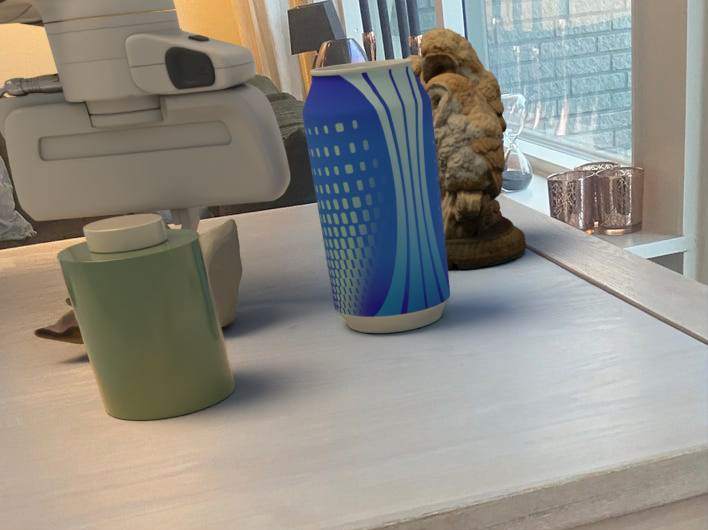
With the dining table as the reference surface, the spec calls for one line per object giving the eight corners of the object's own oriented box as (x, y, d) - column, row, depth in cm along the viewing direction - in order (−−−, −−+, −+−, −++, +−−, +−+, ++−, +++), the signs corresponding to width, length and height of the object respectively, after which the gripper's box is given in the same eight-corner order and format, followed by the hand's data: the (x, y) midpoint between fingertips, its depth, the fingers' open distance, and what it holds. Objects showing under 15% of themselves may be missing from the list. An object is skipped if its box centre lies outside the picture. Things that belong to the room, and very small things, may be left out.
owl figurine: (355, 246, 92) (324, 37, 82) (463, 224, 96) (445, 23, 86) (436, 279, 78) (410, 34, 69) (558, 252, 82) (549, 18, 73)
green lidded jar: (83, 423, 57) (22, 242, 51) (134, 377, 63) (86, 213, 58) (211, 416, 56) (164, 232, 50) (250, 371, 62) (212, 203, 57)
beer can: (315, 323, 70) (271, 73, 61) (407, 297, 75) (377, 58, 66) (380, 344, 65) (341, 71, 56) (475, 314, 69) (453, 55, 60)
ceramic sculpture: (220, 207, 63) (-5, 248, 63) (256, 338, 68) (47, 376, 67) (235, 184, 72) (38, 220, 72) (266, 301, 77) (82, 335, 76)
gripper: (-39, 84, 65) (32, 292, 73) (249, 54, 63) (291, 272, 71) (6, 77, 71) (68, 271, 78) (273, 49, 68) (310, 252, 76)
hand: (176, 271), depth 75 cm, fingers closed, pressing on ceramic sculpture
